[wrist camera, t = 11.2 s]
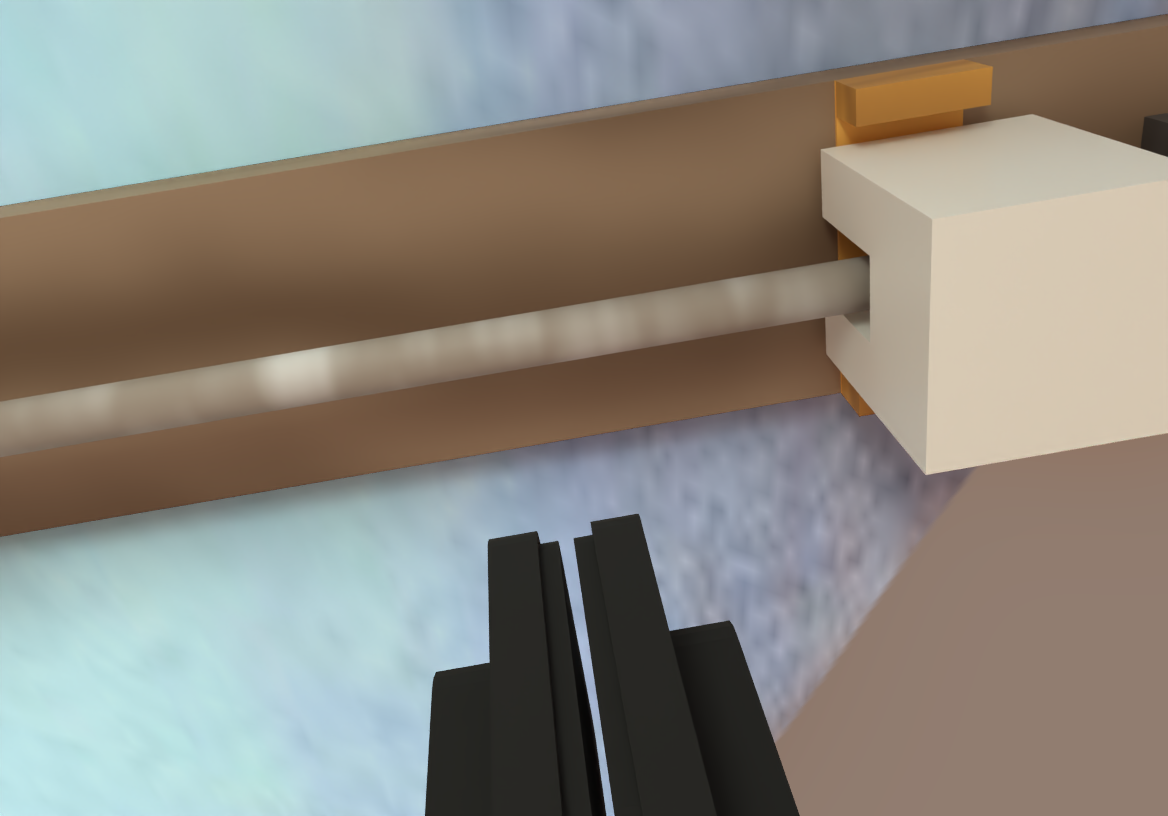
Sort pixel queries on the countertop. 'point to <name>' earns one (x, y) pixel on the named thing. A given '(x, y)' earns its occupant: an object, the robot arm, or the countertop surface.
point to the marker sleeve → (1004, 288)
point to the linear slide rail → (478, 280)
